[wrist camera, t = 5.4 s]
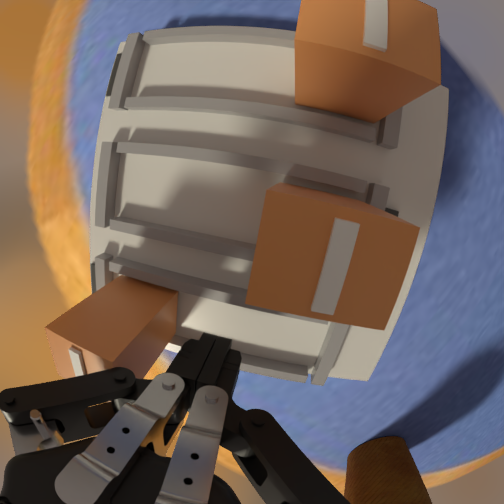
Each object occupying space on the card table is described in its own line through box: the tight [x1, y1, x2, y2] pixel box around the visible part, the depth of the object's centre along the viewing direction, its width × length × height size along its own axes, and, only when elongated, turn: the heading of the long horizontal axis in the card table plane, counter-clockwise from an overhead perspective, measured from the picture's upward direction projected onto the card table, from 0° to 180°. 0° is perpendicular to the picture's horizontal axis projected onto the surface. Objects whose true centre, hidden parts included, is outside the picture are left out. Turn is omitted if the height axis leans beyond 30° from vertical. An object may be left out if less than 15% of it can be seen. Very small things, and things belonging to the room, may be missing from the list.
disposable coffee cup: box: [344, 436, 432, 504], centre depth 14 cm, size 10×10×12 cm
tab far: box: [45, 275, 178, 402], centre depth 13 cm, size 4×3×7 cm
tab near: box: [294, 0, 441, 124], centre depth 8 cm, size 4×3×7 cm
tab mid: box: [245, 182, 420, 330], centre depth 10 cm, size 4×3×7 cm
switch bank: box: [90, 26, 449, 386], centre depth 14 cm, size 20×19×2 cm
